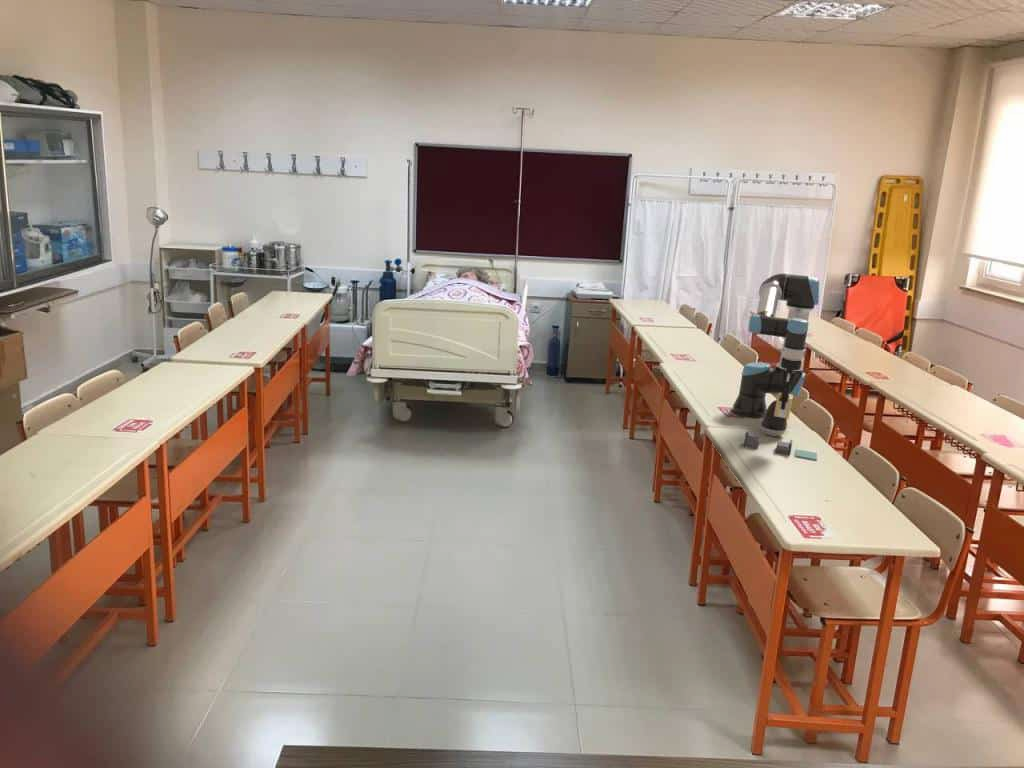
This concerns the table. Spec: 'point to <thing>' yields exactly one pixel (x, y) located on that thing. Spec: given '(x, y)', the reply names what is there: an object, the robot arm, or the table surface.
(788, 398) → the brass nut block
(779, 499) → the table surface
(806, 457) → the rubber pad
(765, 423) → the pump dispenser
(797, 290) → the robot arm
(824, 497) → the table surface
